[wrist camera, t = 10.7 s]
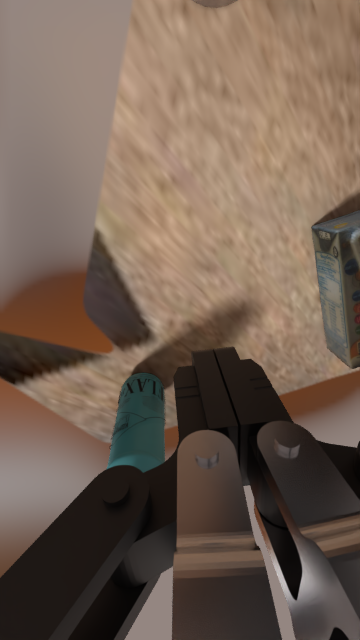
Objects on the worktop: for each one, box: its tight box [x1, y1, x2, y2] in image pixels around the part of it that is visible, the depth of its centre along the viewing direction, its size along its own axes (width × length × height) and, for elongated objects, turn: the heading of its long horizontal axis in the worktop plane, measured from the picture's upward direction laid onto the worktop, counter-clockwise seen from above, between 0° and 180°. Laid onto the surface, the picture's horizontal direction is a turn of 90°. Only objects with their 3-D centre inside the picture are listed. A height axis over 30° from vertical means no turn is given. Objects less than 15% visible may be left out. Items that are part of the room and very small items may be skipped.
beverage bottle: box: [107, 373, 166, 473], centre depth 34 cm, size 6×7×20 cm
